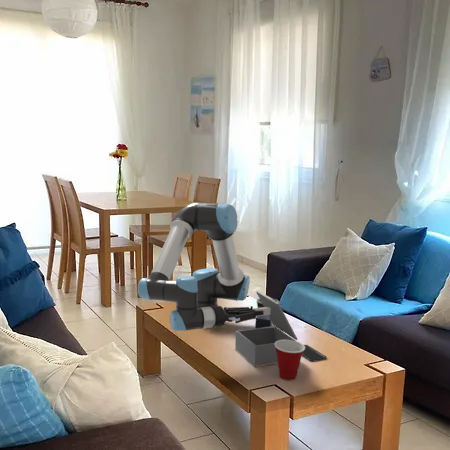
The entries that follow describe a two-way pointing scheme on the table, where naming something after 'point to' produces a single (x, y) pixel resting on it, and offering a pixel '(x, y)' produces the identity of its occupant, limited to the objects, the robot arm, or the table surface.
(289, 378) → the plastic cup
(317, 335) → the table surface
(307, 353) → the phone
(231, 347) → the table surface
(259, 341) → the grey open rectangular box
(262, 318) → the small box
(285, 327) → the lid
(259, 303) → the ceramic cup
